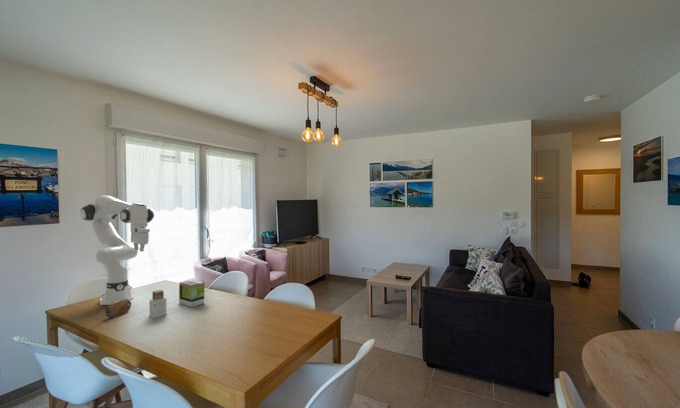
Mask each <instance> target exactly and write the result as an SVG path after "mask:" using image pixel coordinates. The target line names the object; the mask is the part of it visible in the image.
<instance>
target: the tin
mask: <svg viewBox="0 0 680 408" xmlns="http://www.w3.org/2000/svg"><path fill="white" fill-rule="evenodd" d="M131 306H132V301H130V300H128V299H125V300H120V301H117V302H115V303H112V304H109V305H107V306H106V308H105V310H104V315H105V317H107V318H112V319H113V318H114V319H115V318H117V317H118V316H121V315H123V314H126V313H128V312H129V311H130V310H131Z"/></svg>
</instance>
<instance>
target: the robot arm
mask: <svg viewBox="0 0 680 408" xmlns="http://www.w3.org/2000/svg"><path fill="white" fill-rule="evenodd" d="M154 213H155V212H154V211H153V210H152V209H151V208H150V207H147V204H145V203H143V202H142V203H141V202H133V203H132V204H131V203H128V202H125V201H123V200H121V199H118V198H115V197H113V196H111V195H106V194H103V195H100V196H98V197H97V198H96V199H95V202H94V204H91V203H89V204H88V205H87V204H86V205H85V206H82V207H81V208H80V216H81V218H82V219H83V220H84V221H87V222H89V221H92V223H91V224H92V228H93V231H94V233H95V235H96V238H97V239H98V241H99V243H100V244H101V245H102V246H105V247H104V248H102V249H99V250H98V251H97V252H96V253H95V260H96V261H97V262H98V263H99V264H101V265H102V266H103V267H104V269H105V270H106V274H107V275H106V277H107V278H106V279H107V282H106V285H105V286H106V288H105V290H103V291H104V292H102V293H100V297H101V298H99V304H100V306H106V305H107V306H108V305H109V304H112V303H115V302H117V301H120V300H125V299H128V300H129V301H130V300H133V299H134V296H133V295H132V290H131V286H129V280H128V269H127V268H126V267H124V266H123V265H121V262H124V261H128V260H131V259H133V258H135V257H137V255H138V250H139V252H144V251H145V246H146V245H148V244H149V237H150V235H149V234H150V228H149V226H148V225H149V224H148V223H150V222H151V221H152V220H153V219H154V217H155V214H154ZM118 216H119V219H120V221H121V222H122V223H124V224H130V242H131V243H133V244H131V243H129V242H127V241H125V240H124V239H123V238H122V237H121V236H120V235H119V233H118V231H117V230H116V228H115V227H114V225H113V223H112V221H111V220H115V219H116V217H118ZM139 246H140V247H139Z"/></svg>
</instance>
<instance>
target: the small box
mask: <svg viewBox="0 0 680 408" xmlns="http://www.w3.org/2000/svg"><path fill="white" fill-rule="evenodd" d="M166 315H167V297H166V296H164V298H162V299H158V300H154V299H153V297H152V298H150V299H149V317H150V318H151V319H155V318H158V317H159V318H160V317H163V316H166Z"/></svg>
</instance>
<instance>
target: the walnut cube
mask: <svg viewBox="0 0 680 408" xmlns="http://www.w3.org/2000/svg"><path fill="white" fill-rule="evenodd" d="M164 294H165V293H164V290H162V289H157V290H153V291H152V298H153V299H154V300H158V299H162V298H164V297H165V295H164Z"/></svg>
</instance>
